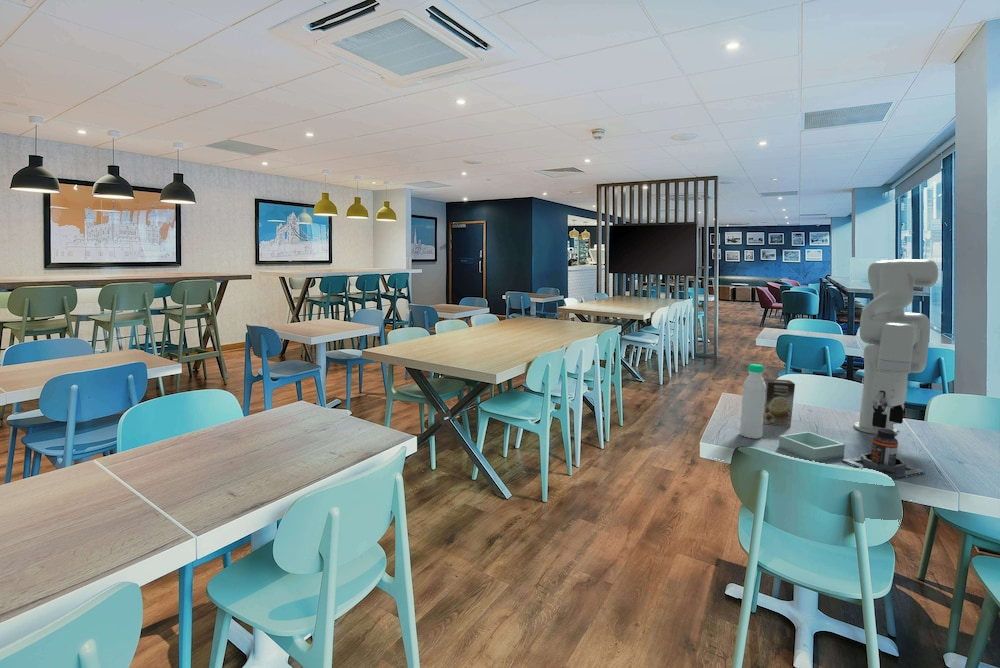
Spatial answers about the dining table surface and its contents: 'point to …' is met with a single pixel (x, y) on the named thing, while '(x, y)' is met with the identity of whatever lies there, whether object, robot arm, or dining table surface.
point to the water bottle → (753, 403)
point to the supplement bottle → (884, 447)
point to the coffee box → (778, 402)
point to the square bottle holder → (884, 466)
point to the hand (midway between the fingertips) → (887, 424)
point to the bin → (811, 446)
